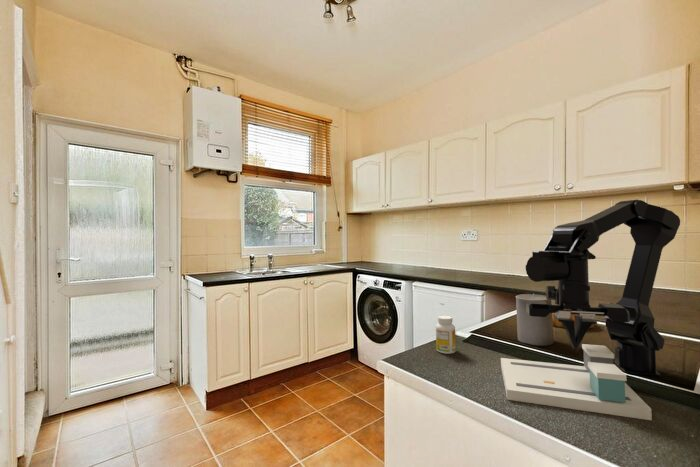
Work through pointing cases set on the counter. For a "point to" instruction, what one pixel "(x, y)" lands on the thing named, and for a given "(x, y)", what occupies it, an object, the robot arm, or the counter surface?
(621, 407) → the slotted slider plate
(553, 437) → the counter surface
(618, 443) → the counter surface
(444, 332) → the supplement bottle
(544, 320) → the pillar candle
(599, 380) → the teal knob
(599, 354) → the grey and white slider
